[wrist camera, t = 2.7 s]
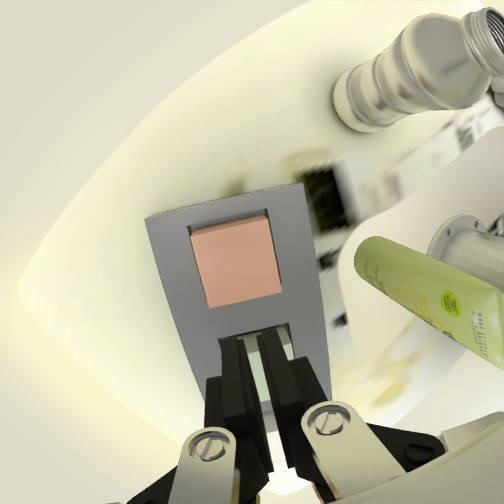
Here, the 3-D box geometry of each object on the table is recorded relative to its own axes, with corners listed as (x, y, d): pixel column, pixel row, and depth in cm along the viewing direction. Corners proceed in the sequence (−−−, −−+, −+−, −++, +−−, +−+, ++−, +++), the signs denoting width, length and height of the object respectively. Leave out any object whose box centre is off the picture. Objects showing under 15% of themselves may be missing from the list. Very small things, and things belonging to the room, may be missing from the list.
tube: (341, 275, 30) (466, 383, 11) (355, 228, 29) (505, 293, 10) (385, 283, 31) (511, 375, 12) (398, 240, 30) (542, 302, 11)
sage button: (283, 325, 29) (291, 343, 25) (292, 372, 30) (299, 392, 27) (223, 339, 29) (224, 358, 25) (237, 385, 30) (239, 406, 27)
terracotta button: (261, 214, 26) (267, 219, 23) (274, 278, 28) (281, 292, 24) (194, 229, 26) (190, 236, 22) (210, 293, 27) (209, 308, 24)
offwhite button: (298, 404, 31) (305, 423, 28) (303, 434, 33) (309, 453, 29) (247, 415, 31) (250, 436, 28) (257, 444, 33) (260, 464, 29)
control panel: (295, 183, 28) (302, 183, 25) (329, 425, 35) (334, 437, 33) (150, 215, 27) (144, 218, 25) (230, 448, 35) (231, 461, 32)
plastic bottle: (330, 135, 27) (487, 84, 8) (322, 72, 25) (444, -35, 6) (386, 137, 28) (548, 112, 8) (377, 78, 26) (516, 9, 7)
